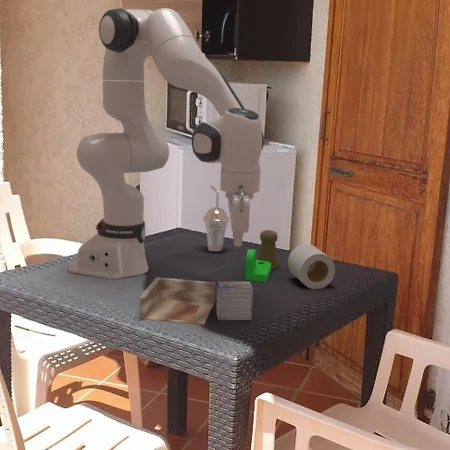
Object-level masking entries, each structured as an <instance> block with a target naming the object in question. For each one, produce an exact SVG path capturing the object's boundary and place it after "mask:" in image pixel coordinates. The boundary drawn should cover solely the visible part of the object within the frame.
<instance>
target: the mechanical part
mask: <svg viewBox="0 0 450 450" xmlns="http://www.w3.org/2000/svg"><path fill="white" fill-rule="evenodd" d="M271 271H272V270H271V263H270V262H268V261H262V260H258V259H257V249H250V248H248V249H247V252H246V256H245V274H244V275H245V276H244V278H245V279H244V281H245V280H246V281H253V282H254V281H255V282H265V283H267V281H268V279H269V277H270V274H271Z"/></svg>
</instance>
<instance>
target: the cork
mask: <svg viewBox="0 0 450 450" xmlns="http://www.w3.org/2000/svg"><path fill="white" fill-rule="evenodd" d="M278 237H279V236H278V233H277V232H276V231H274V230H270V229H269V230H262V231H261V232H260V234H259V239H260V241H261V243H260V247H259V249H260V250H259V253H258V258H257V260H262V261H268V262H270V263H271V271H272V270H276V269H277V268H278V262H277V261H278V259H277V247H276V242H277V241H278V239H279V238H278Z"/></svg>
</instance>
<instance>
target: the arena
mask: <svg viewBox="0 0 450 450" xmlns="http://www.w3.org/2000/svg"><path fill="white" fill-rule="evenodd" d="M215 302H216V282H213V281H203V280H191V279H179V278H178V279H177V278H168V277H158V276H156V277H155V278H154V280H153V281H151V283H150V285H148V287H147V288H146V289H145V291H144V292H143V293H142V294H141V296H140V297H139V319H140V318H142V319H141V320H145V319H151V320H150V321H156V320H159V321H158V322H167V321H169V322H170V323H177V322H179V324H187V325H189V324H191V325H200V326H201V325H203V326H205V324H206V322H207V320H208V317H209V316H210V313H211V311H212V309H213V308H214V306H215ZM169 322H168V323H169Z"/></svg>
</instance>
